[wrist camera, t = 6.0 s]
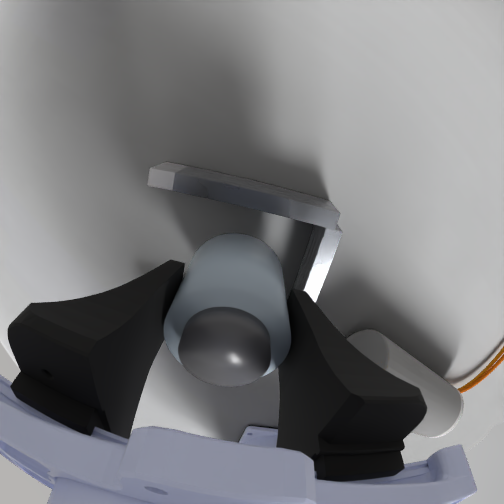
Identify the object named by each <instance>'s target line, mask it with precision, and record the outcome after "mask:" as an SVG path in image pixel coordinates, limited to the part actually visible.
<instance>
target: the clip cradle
mask: <svg viewBox="0 0 504 504" xmlns="http://www.w3.org/2000/svg"><path fill="white" fill-rule="evenodd" d="M147 186H152V187H157V188H162V189H167V190H172V191H176V192H181V193H186V194H190V195H195V196H200V197H204V198H209V199H213V200H217V201H222V202H226V203H230V204H235V205H239V206H243V207H247V208H251V209H256V210H260V211H264V212H268V213H272V214H276V215H280V216H284V217H288V218H291V219H295V220H299V221H303V222H307V223H311V224H314V227H313V230H312V233H311V236H310V239H309V242H308V245H307V248H306V251H305V254H304V257H303V260H302V263H301V266H300V269H299V271H298V274H297V277H296V280H295V283H294V286H293V289H298V290H302V291H306V292H307V293H308V294H309V295H310V297H311V298H312V299H313V301H314V302H316V300H317V297H318V295H319V292H320V290H321V288H322V285H323V283H324V280H325V278H326V275H327V273H328V270H329V267H330V265H331V262H332V260H333V257H334V254H335V252H336V249H337V246H338V244H339V241H340V238H341V236H342V233H343V232H342V230H341V229H340V228H339V226H338V225H337V222H338V219H339V216H340V212H339V211H338V210H337V209H336V207H335V206H334V205H333V204H332V203H331V201H329V200H326V199H322V198H319V197H315V196H312V195H308V194H304V193H301V192H297V191H293V190H290V189H286V188H282V187H278V186H274V185H270V184H266V183H262V182H258V181H254V180H250V179H246V178H242V177H237V176H233V175H228V174H224V173H219V172H215V171H210V170H205V169H201V168H196V167H191V166H186V165H180V164H175V163H170V162H164V163H162V164H159V165H156V166H154V167H151V168H150V170H149V177H148V184H147Z"/></svg>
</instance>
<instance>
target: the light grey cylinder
mask: <svg viewBox="0 0 504 504" xmlns="http://www.w3.org/2000/svg"><path fill="white" fill-rule="evenodd" d="M164 338H165V341H166V344H167V346H168V348H169V350H170V352H171V353H172V355H173V356H174V357H175V358H176V359H177V360H178V361H179V362H180V363H181V364H182V365H183V366H184V367H185V369H186V370H187V371H188V372H189V373H191V374H192V375H193V376H195V377H196V378H198V379H200V380H202V381H204V382H206V383H209V384H213V385H217V386H224V387H235V386H242V385H246V384H249V383H252V382H254V381H256V380H258V379H259V378H261V377H262V376H265V375H267V374H268V373H270V372H272V371H273V370H275V369H276V368H277V367H278V366H279V365H280V364H281V363H282V362H283V361H284V359H285V358H286V356H287V354H288V352H289V349H290V346H291V331H290V323H289V315H288V308H287V300H286V293H285V285H284V278H283V271H282V266H281V263H280V261H279V259H278V257H277V255H276V254H275V252H274V251H273V250H272V249H271V248H270V247H269V246H268V245H267V244H266V243H264V242H263V241H261V240H259V239H257V238H255V237H253V236H250V235H246V234H240V233H229V234H223V235H219V236H216V237H214V238H212V239H210V240H208V241H207V242H205V243H204V244H203V245H202V246H201V247H200V248H199V249H198V250H197V251H196V253H195V255H194V256H193V258H192V260H191V263H190V265H189V267H188V269H187V271H186V273H185V275H184V278H183V280H182V282H181V284H180V286H179V289H178V291H177V293H176V295H175V297H174V300H173V302H172V304H171V306H170V309H169V311H168V313H167V316H166V318H165V322H164Z"/></svg>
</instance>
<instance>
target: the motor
mask: <svg viewBox="0 0 504 504" xmlns="http://www.w3.org/2000/svg"><path fill="white" fill-rule="evenodd" d="M346 339H347V340H348V341H349V342H350V343H351V344H352V345H353V346H354V347H355V348H356V349H357V350H359V351H360V352H361V353H362V354H363V355H365V356H366V357H367V358H369V359H370V360H371V361H373V362H374V363H375V364H377V365H378V366H380V367H381V368H383V369H384V370H386V371H388V372H389V373H391V374H393V375H394V376H396V377H398V378H400V379H402V380H404V381H406V382H408V383H410V384H412V385H414V386H416V387H418V388H419V389H420V391H421V393H422V395H423V398H424V400H425V403H426V405H427V413H426V415H425V417H424V419H423V420H422V421H421V423H420V424H419V425H418V426H417V427H416V428H415V429H414V430H413V431H412V432H411V433H415V434H418V435H422V436H425V437H429V438H437V437H441V436H443V435H445V434H447V433H448V432H450V431H451V430H452V429H453V428H454V427H455V426H456V425H457V423H458V422H459V420H460V418H461V416H462V413H463V408H464V402H463V397H462V395H461V393H463V392H465V391H467V390H469V389H471V388H472V387H474V386H475V385H477V384H478V383H479V382H481V381H482V380H483V379H484V378H486V377H487V376H488V375H489V374H490V373H491V372H492V371H493V370H494V369H495V368H496V367H497V366H498V365H499V364H500V363H501V362H502V361H503V360H504V354H503V353H504V347H503V348H502V349H501V351H500V352H499V353H498V354H497V355H496V357H495V358H494V359H493V360H492V361H491V362H490V363H489V365H488V366H487V367H486V368H485V369H484V370H483V371H482V372H481V373H480V374H478V375H477V376H476V377H475V378H474V379H473V380H471V381H470V382H469V383H467V384H466V385H464V386H463V387H461V388H459V389H456V388H455V387H453V386H452V385H451V384H449V383H448V382H447V381H445V380H444V379H443V378H441V377H440V376H439V375H437V374H436V373H435V372H433V371H432V370H430V369H429V368H428V367H426V366H425V365H424V364H422V363H421V362H420V361H418V360H417V359H415V358H414V357H413V356H411V355H410V354H409V353H407V352H406V351H405V350H403V349H402V348H400V347H399V346H398V345H396V344H395V343H394V342H392V341H391V340H389V339H388V338H387V337H385V336H384V335H383V334H381V333H380V332H378V331H375V330H370V329H369V330H362V331H358V332H356V333H354V334H352V335H351V336H349V337H348V338H346ZM502 354H503V356H502V357H501V358H500V359H499V357H500V356H501V355H502ZM498 359H499V360H498ZM497 360H498V361H497ZM496 361H497V362H496ZM495 362H496V363H495ZM494 363H495V364H494ZM493 364H494V365H493ZM492 365H493V366H492Z"/></svg>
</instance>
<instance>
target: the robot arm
mask: <svg viewBox="0 0 504 504" xmlns="http://www.w3.org/2000/svg"><path fill="white" fill-rule="evenodd" d="M184 265H185V263H182V262H178V261H174V260H169V261H167V262H166V263H164V264H162V265H160V266H159V267H157V268H155V269H154V270H152V271H150V272H148V273H146V274H145V275H143V276H141V277H139V278H137V279H135V280H132V281H130V282H128V283H126V284H124V285H122V286H119V287H117V288H114V289H111V290H108V291H106V292H103V293H99V294H95V295H91V296H87V297H84V298H79V299H73V300H66V301H59V302H43V303H31V304H30V305H29V306H28V307H27V308H26V309H25V310H24V311H23V312H22V313H21V314H20V315H19V316H18V317H17V318H16V319H15V320H14V321H13V322H12V323H11V324H10V325H9V328H8V340H9V344H10V347H11V349H12V352H13V354H14V356H15V359H16V361H17V363H18V366H19V368H20V370H21V372H20V373H19V374H18V376H17V377H16V379H15V380H14V381H13V383H12V382H10V381H9V380H7V379H6V378H4V377H3V376H1V375H0V454H1V455H2V456H4V457H5V458H7V459H8V460H9V461H10V462H12V463H13V464H15V465H16V466H17V467H19V468H20V469H22V470H23V471H24V472H26V473H27V474H29V475H30V476H32V477H33V478H35V479H37V480H38V481H39V482H41V483H43V484H44V485H46V486H48V487H49V488H51V489H52V492H51V494H50V497H49V500H48V502H47V504H457V503H459V502H461V501H462V500H464V499H466V498H467V497H469V496H471V495H472V494H474V493H475V492H476V491H477V487H476V484H475V482H474V478H473V475H472V472H471V469H470V467H469V464H468V461H467V458H466V455H465V453H464V450H463V448H462V445H460V444H459V445H455V446H451V447H446V448H443V449H441V450H439V451H437V452H435V453H434V454H433V455H431V456H430V457H429V458H428V459H427V460H424V461H419V462H414V463H408V464H404V463H403V459H402V455H401V452H400V451H402V450H403V449H404V447H405V446H404V442H403V439H404V438H405V437H406V436H407V435H408V434H409V433H411V432H412V431H413V430H414V429H415V428H416V427H417V426H418V425H419V424H420V423H421V421H422V420H423V419H424V417H425V415H426V413H427V405H426V403H425V400H424V398H423V395H422V393H421V391H420V389H419V388H418V387H416V386H414V385H412V384H410V383H408V382H406V381H404V380H402V379H400V378H398V377H396V376H394V375H393V374H391V373H389V372H388V371H386V370H384V369H383V368H381V367H380V366H378V365H377V364H375V363H374V362H373V361H371V360H370V359H369V358H367V357H366V356H365V355H363V354H362V353H361V352H360V351H359V350H357V349H356V348H355V347H354V346H353V345H352V344H351V343H350V342H349V341H348V340H347V339H346V338H345V337H344V336H343V335H342V334H341V333H340V332H339V331H338V330H337V329H336V328H335V327H334V325H333V324H332V323H331V322H330V321H329V320H328V318H327V317H326V316H325V315H324V313H323V312H322V311H321V310H320V308H319V307H318V306H317V304H316V303H315V302H314V301H313V299H312V298H311V297H310V295H309V294H308V293H307V292H306V291H302V290H298V289H293V288H292V289H291V292H290V295H289V298H288V300H287V308H288V315H289V323H290V331H291V346H290V349H289V352H288V354H287V356H286V358H285V359H284V361H283V362H282V363H281V364H280V365H279V366H278V370H279V382H280V409H279V424H278V429H271V428H263V427H256V426H248V427H247V428H246V429H245V431H244V433H243V435H242V437H241V439H240V441H239V443H237V442H231V441H225V440H220V439H214V438H209V437H204V436H200V435H195V434H191V433H187V432H183V431H179V430H175V429H168V428H162V427H156V426H149V427H142V428H137V429H133V431H132V433H131V429H132V425H133V421H134V418H135V414H136V411H137V407H138V404H139V401H140V397H141V394H142V391H143V388H144V385H145V382H146V379H147V376H148V373H149V370H150V368H151V365H152V363H153V361H154V359H155V357H156V355H157V353H158V351H159V349H160V347H161V345H162V343H163V341H164V339H165V338H164V322H165V318H166V316H167V313H168V311H169V309H170V306H171V304H172V302H173V300H174V297H175V295H176V293H177V291H178V289H179V286H180V284H181V282H182V280H183V272H184ZM130 433H131V435H130Z"/></svg>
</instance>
